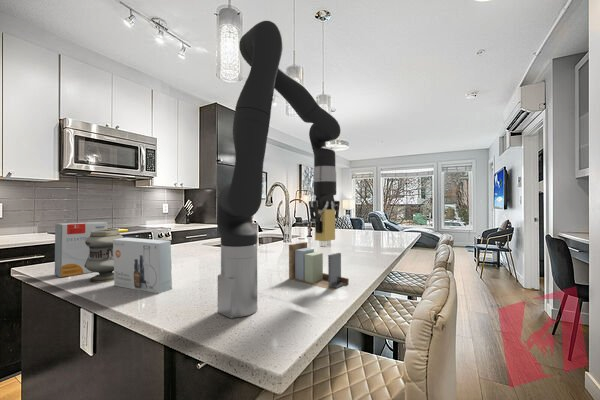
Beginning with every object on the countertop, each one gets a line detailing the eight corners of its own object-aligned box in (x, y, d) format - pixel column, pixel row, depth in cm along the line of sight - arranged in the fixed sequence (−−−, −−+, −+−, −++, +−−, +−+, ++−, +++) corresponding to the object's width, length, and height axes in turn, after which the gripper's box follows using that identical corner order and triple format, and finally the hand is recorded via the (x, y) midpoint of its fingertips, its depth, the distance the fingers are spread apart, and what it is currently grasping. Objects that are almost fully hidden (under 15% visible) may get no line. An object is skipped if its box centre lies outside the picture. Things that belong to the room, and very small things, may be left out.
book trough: (333, 293, 86) (333, 251, 86) (289, 281, 99) (288, 244, 99) (348, 287, 92) (348, 247, 92) (305, 277, 105) (304, 242, 105)
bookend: (335, 288, 87) (335, 256, 87) (328, 286, 89) (328, 255, 89) (345, 284, 91) (345, 253, 91) (338, 283, 93) (338, 252, 93)
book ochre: (324, 241, 90) (324, 209, 90) (315, 240, 93) (315, 209, 93) (335, 239, 94) (335, 209, 94) (325, 238, 97) (325, 209, 97)
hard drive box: (59, 278, 105) (59, 224, 105) (54, 275, 110) (53, 223, 110) (107, 270, 117) (107, 221, 117) (100, 267, 122) (100, 221, 122)
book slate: (303, 280, 96) (303, 251, 96) (295, 278, 99) (294, 249, 99) (313, 277, 100) (313, 249, 100) (305, 275, 103) (305, 247, 103)
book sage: (312, 282, 94) (312, 255, 94) (304, 280, 96) (304, 254, 96) (322, 279, 98) (322, 253, 98) (314, 277, 100) (314, 252, 100)
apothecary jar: (76, 282, 100) (76, 231, 100) (106, 273, 112) (106, 227, 112) (104, 284, 97) (104, 231, 97) (132, 275, 109) (132, 228, 109)
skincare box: (112, 286, 95) (111, 239, 95) (127, 282, 100) (127, 237, 100) (158, 294, 87) (158, 242, 87) (172, 289, 92) (172, 240, 92)
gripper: (320, 179, 86) (320, 235, 85) (346, 181, 96) (346, 231, 96) (301, 180, 91) (302, 233, 91) (328, 182, 101) (329, 229, 101)
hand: (325, 232), depth 93 cm, fingers closed on book ochre, 5 cm apart
